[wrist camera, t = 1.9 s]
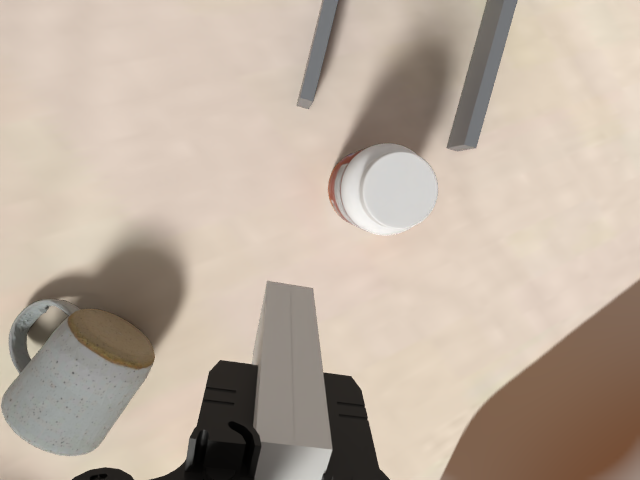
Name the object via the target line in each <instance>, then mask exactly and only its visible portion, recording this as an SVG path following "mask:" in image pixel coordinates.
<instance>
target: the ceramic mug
mask: <svg viewBox="0 0 640 480" xmlns="http://www.w3.org/2000/svg"><path fill="white" fill-rule="evenodd" d="M49 306H56V307H58V308H59V309H61V310H63V311H64V312H65V313H66V314H67V315H68V317H67V318H66V319H65V320H64V321H63V322H62V323H61V324H60V325H59V326H58V327H57V328H56V329H55V331H54V332H53V333H52V334H51V336H50V337H49V338H48V340H47V341H46V343H45V344H44V345H43V347H42V348H41V349H40V350H39V351H38V353H37V354H36V355H35V356H34V357H33V359H32V360H31V358H30V357H29V354H28V350H27V333H28V332H29V328H30V327H31V325H32V324H33V323H34V322H35V321H36V320H37V319H38V318H39V317H40V315H42V314H43V313H46V311H47V310H48V308H49ZM9 351H10V355H11V358H12V361H13V364H14V366H15V367H16V369H17V371H18V372H19V376H18V377H17V378H16V379H15V380H14V382H13V383H12V384H11V385H10V387H9V388H8V389H7V391H6V392H5V394H4V396H3V398H2V405H1V408H2V413H3V415H4V418H5V420H6V421H7V423H8V424H9V426H10V427H11V428H12V430H13V431H14V432H15V433H16V434H17V435H18V436H20V437H21V438H22V439H23V440H25V441H27V442H28V443H29V444H31V445H33V446H34V447H36V448H39V449H41V450H43V451H46V452H49V453H53V454H57V455H63V456H77V455H83V454H87V453H89V452H91V451H93V450H94V449H96V448H97V447H98V446H99V445H100V444H101V442H102V441H103V439H104V438H105V437H106V435H107V433H108V432H109V431H110V429H111V428H112V426H113V425H114V423H115V422H116V420H117V419H118V418H119V416H120V415H121V413H122V412H123V411H124V409H125V408H126V406H127V404H128V403H129V401H130V400H131V398H132V397H133V396H134V394H135V393H136V391H137V390H138V389H139V387H140V386H141V385H142V383H143V382H144V380H145V379H146V377H147V375H148V373H149V371H150V369H151V367H152V365H153V362H154V358H155V355H154V350H153V347H152V345H151V343H150V341H149V340H148V338H147V337H146V336H145V335H144V334H143V333H142V332H141V331H140V330H138V329H137V328H136V327H135V326H134V325H132V324H130V323H129V322H127V321H126V320H124V319H122V318H120V317H118V316H116V315H114V314H112V313H109V312H106V311H103V310H99V309H82V310H80V309H79V308H78V307H77V306H75V305H73V304H71V303H69V302H67V301H64V300H58V299H44V300H39V301H36V302H33V303H32V304H30V305H29V306H27V307H26V308H25V309H24V310H23V311H22V312H21V313H20V314H19V315H18V316H17V318H16V319H15V321H14V323H13V325H12V327H11V330H10V334H9Z"/></svg>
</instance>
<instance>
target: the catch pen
mask: <svg viewBox="0 0 640 480" xmlns="http://www.w3.org/2000/svg"><path fill="white" fill-rule="evenodd" d="M337 3H338V0H323V1H322V5H321V9H320V13H319V17H318V21H317V25H316V29H315V33H314V37H313V41H312V45H311V49H310V54H309V58H308V62H307V66H306V70H305V74H304V78H303V82H302V86H301V90H300V94H299V98H298V102H297V106H299V107H303V108H306V109H309V108H310V106H311V104H312V103H313V100H314V96H315V92H316V88H317V84H318V80H319V76H320V72H321V68H322V64H323V60H324V56H325V52H326V48H327V44H328V40H329V36H330V32H331V28H332V24H333V20H334V16H335V12H336V7H337ZM516 4H517V0H487V3H486V7H485V10H484V14H483V17H482V21H481V25H480V28H479V32H478V36H477V39H476V43H475V47H474V50H473V54H472V57H471V61H470V65H469V68H468V72H467V76H466V79H465V83H464V87H463V90H462V94H461V97H460V101H459V105H458V108H457V112H456V116H455V119H454V123H453V127H452V130H451V134H450V137H449V141H448V145H447V148H448V149H451V150H455V151H462V150H468V149H474V148H476V146H477V143H478V139H479V136H480V132H481V129H482V125H483V122H484V118H485V114H486V111H487V107H488V104H489V100H490V97H491V93H492V89H493V86H494V82H495V79H496V75H497V72H498V68H499V64H500V61H501V57H502V54H503V50H504V47H505V43H506V40H507V36H508V32H509V29H510V25H511V22H512V18H513V15H514V11H515V7H516Z"/></svg>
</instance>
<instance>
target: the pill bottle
mask: <svg viewBox="0 0 640 480" xmlns="http://www.w3.org/2000/svg"><path fill="white" fill-rule="evenodd" d="M328 194H329V199H330V202H331V205H332V207H333V209H334V210H335V212H336V213H337V214H338V215H339V216H340V217H341V218H342V219H343V220H345V221H346V222H348V223H350V224H352V225H354V226H356V227H358V228H360V229H363V230H365V231H367V232H370V233H373V234H377V235H394V234H398V233H401V232H404V231H406V230H408V229H410V228H411V227H413V226H415V225H417V224H419V223H420V222H422V221H423V220H424V219H425V218H426V217H427V216H428V215H429V214H430V213H431V211H432V210H433V208H434V206H435V203H436V200H437V196H438V183H437V178H436V175H435V173H434V171H433V169H432V168H431V166H430V165H429V164H428V163H427V162H426V161H425V160H424V159H423V158H421V157H420V156H418V155H417V154H416V153H415V152H414V151H412V150H410V149H409V148H407V147H404V146H402V145H398V144H393V143H384V144H377V145H373V146H370V147H368V148H365V149H363V150H360V151H357V152H355V153H352V154H350V155H348V156H346V157H345V158H343V159H342V160H341V161H340V162H339V163H338V164H337V165H336V166H335V168H334V169H333V171H332V173H331V176H330V179H329V183H328Z"/></svg>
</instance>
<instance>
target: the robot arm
mask: <svg viewBox="0 0 640 480" xmlns="http://www.w3.org/2000/svg"><path fill="white" fill-rule="evenodd" d="M367 418H368V417H367V413H366V408H365V404H364V399H363V395H362V391H361V389H360V388H359V386H358V385H357V384H356V382H355V381H354V379H353V378H352V377H351V376H345V375H338V374H330V373H323V367H322V359H321V351H320V342H319V334H318V326H317V317H316V309H315V301H314V293H313V288H309V287H302V286H296V285H290V284H284V283H277V282H271V281H267V284H266V289H265V294H264V299H263V304H262V309H261V314H260V320H259V325H258V330H257V335H256V340H255V345H254V350H253V359H252V364H245V363H238V362H230V361H222V360H220V361H219V362H218V363H217V364H216V365H215V366H214V367H213V368H212V370H211V371H210V372H209V375H208V380H207V384H206V389H205V393H204V397H203V402H202V406H201V410H200V414H199V419H198V423H197V427H196V428H195V429H194V431H193V432H192V434H191V436H190V438H189V445H188V452H187V458H186V460H185V462H184V463H183V464H182V465H181V466H180V467H178V468H177V469H176V470H175V471H173V472H171V473H169V474H167V475H165V476H162V477H159V478H155V479H151V480H390V479H389V478H388V477H387V476H386V475H385V474H384V473H383V472H382V471H381V470H380V469H379V466H378V461H377V457H376V452H375V448H374V443H373V439H372V435H371V430H370V426H369V421H368V420H367ZM72 480H134V479H133V478H132V476H131V475H129V474H127V473H125V472H124V471H122V470H120V469H113V468H106V467H105V468H99V469H93V470H89V471H87V472H85V473H83V474H80V475H78V476H76V477H74V478H73V479H72Z"/></svg>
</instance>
